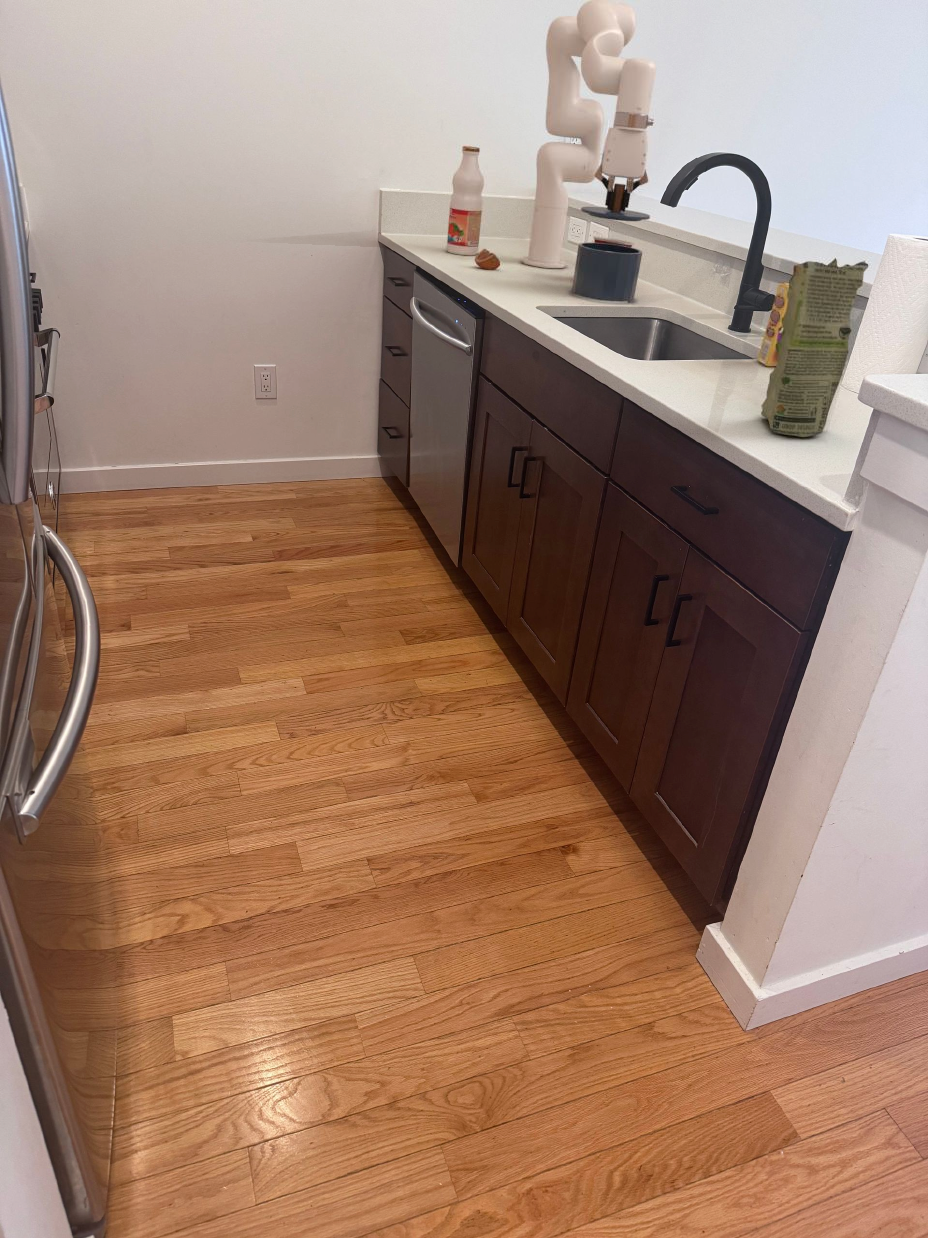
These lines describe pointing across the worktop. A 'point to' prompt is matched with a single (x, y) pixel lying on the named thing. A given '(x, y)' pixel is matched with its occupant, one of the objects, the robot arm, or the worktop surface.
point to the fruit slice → (487, 260)
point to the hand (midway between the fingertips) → (615, 209)
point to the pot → (606, 272)
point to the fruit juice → (466, 205)
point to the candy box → (774, 327)
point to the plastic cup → (612, 241)
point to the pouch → (812, 346)
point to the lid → (616, 208)
